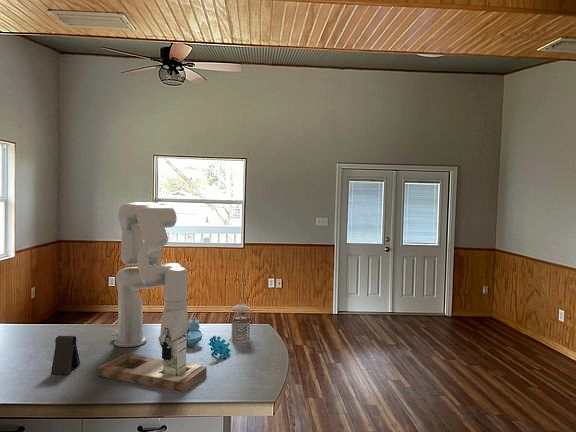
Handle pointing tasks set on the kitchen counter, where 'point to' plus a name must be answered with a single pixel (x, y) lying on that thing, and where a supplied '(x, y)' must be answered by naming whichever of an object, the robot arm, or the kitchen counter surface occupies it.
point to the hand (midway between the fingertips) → (174, 354)
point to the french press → (241, 324)
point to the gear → (219, 347)
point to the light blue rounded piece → (194, 332)
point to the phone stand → (65, 355)
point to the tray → (151, 372)
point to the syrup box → (176, 358)
